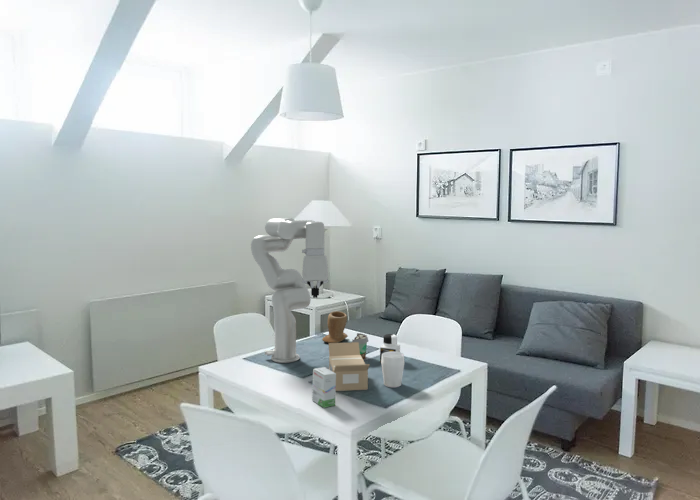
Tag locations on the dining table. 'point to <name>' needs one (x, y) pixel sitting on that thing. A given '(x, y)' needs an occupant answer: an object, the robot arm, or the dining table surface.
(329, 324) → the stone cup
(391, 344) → the medicine bottle
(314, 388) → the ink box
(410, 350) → the dining table surface
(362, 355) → the food container
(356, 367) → the near flap
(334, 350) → the far flap
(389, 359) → the cup
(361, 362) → the carton
